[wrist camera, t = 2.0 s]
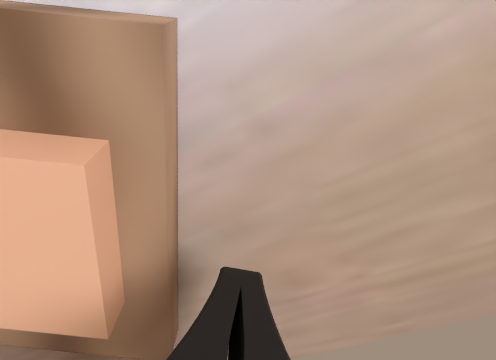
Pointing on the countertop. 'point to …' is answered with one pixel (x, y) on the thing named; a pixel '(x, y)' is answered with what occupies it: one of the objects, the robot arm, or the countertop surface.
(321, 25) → the countertop surface
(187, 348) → the robot arm
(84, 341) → the deck
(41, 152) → the tile
